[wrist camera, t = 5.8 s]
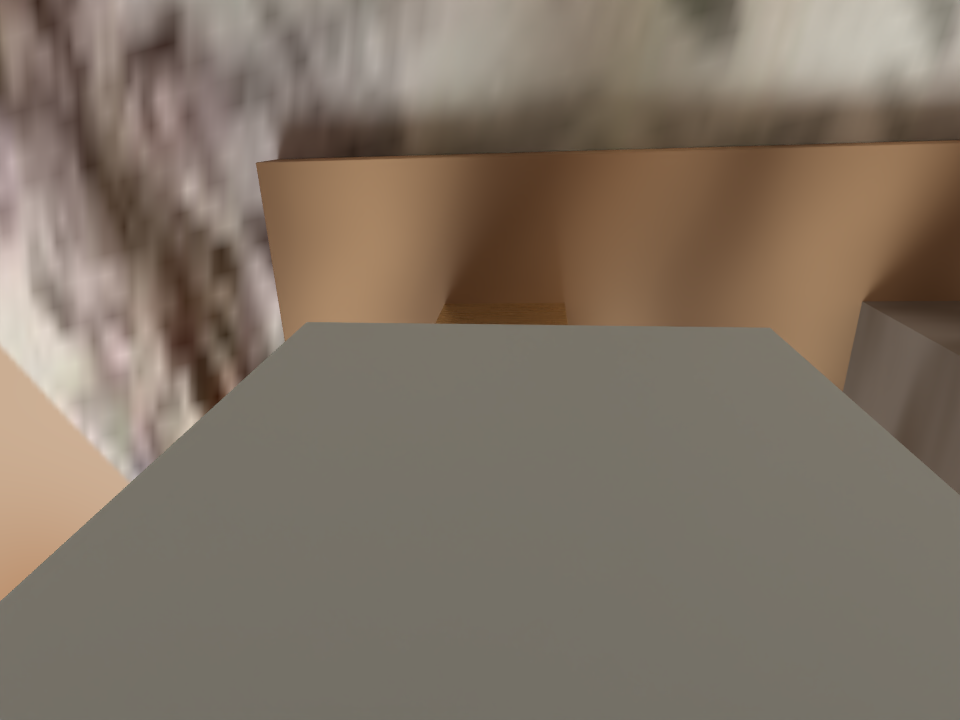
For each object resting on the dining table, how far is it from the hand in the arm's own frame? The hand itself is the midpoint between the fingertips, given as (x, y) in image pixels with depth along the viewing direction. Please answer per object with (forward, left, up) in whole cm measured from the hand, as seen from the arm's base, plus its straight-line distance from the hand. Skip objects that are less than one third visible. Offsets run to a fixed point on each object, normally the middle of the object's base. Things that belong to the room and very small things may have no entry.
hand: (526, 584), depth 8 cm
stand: (-5, +1, -12) cm, 13 cm away
